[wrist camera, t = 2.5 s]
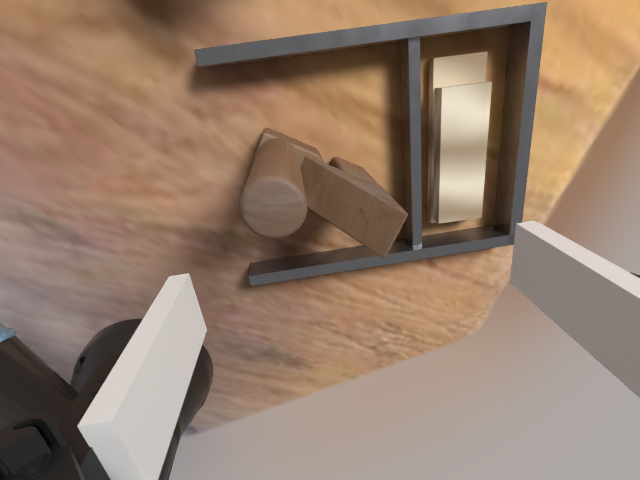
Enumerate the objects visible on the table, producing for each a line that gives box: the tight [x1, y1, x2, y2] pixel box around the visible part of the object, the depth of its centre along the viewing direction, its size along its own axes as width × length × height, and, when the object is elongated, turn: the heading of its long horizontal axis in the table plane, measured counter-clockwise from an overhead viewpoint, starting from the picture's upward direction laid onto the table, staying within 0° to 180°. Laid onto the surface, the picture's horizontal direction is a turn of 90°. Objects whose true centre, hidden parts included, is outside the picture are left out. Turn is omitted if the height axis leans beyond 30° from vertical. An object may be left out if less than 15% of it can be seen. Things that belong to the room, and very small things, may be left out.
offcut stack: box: [427, 52, 492, 224], centre depth 35 cm, size 16×5×3 cm, turn 6°
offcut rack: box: [194, 2, 547, 286], centre depth 34 cm, size 22×29×3 cm
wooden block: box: [239, 128, 408, 258], centre depth 27 cm, size 4×11×18 cm, turn 67°
